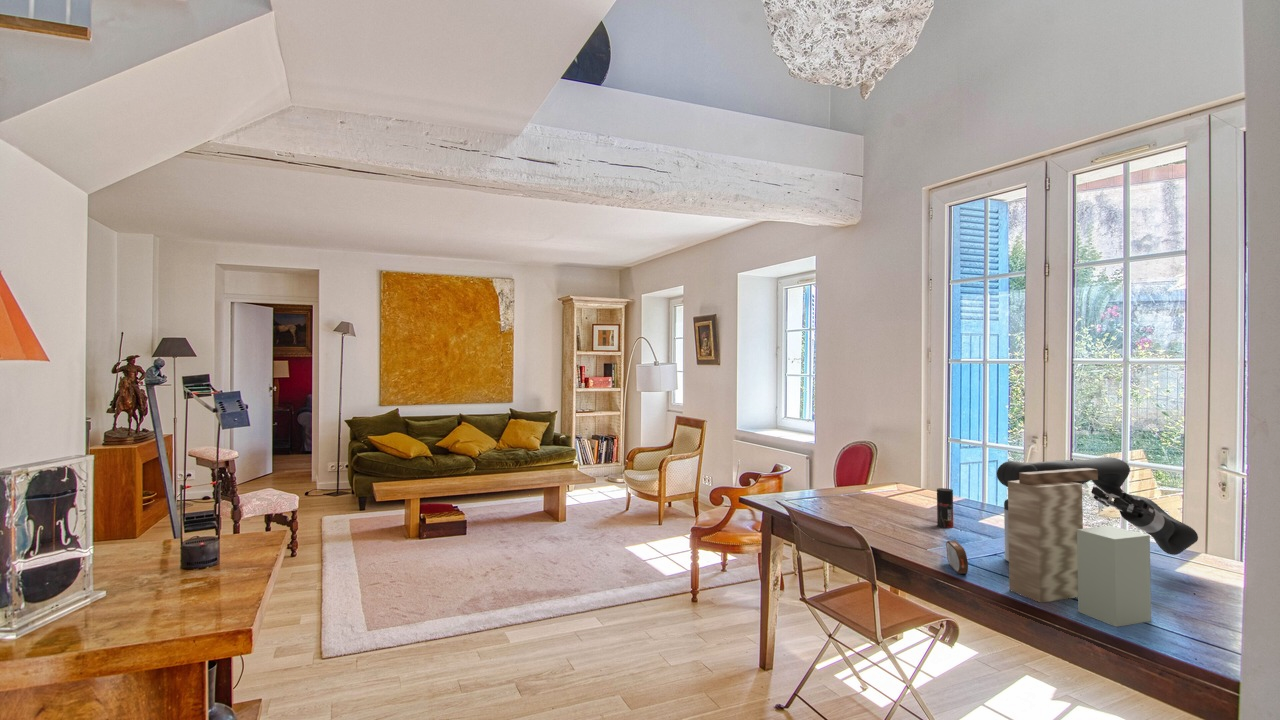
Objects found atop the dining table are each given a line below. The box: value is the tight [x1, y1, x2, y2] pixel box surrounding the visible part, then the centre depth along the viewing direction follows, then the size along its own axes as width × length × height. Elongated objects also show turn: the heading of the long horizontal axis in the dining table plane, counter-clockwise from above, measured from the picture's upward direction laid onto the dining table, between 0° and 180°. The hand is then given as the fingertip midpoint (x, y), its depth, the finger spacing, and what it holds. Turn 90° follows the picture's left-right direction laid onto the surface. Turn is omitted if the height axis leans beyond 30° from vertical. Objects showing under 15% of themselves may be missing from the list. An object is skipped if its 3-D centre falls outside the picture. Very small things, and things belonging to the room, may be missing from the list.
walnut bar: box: [1019, 468, 1098, 485], centre depth 181 cm, size 26×3×3 cm, turn 106°
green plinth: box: [1077, 525, 1152, 628], centre depth 163 cm, size 12×10×22 cm
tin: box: [945, 539, 969, 575], centre depth 201 cm, size 15×3×8 cm, turn 168°
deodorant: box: [936, 487, 954, 529], centre depth 255 cm, size 6×6×15 cm
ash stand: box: [1007, 480, 1084, 603], centre depth 180 cm, size 16×10×32 cm, turn 106°
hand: (1107, 492), depth 186 cm, fingers open, 8 cm apart
